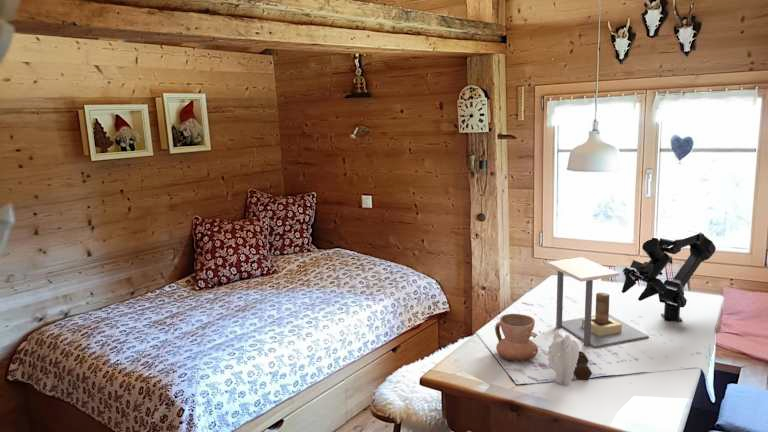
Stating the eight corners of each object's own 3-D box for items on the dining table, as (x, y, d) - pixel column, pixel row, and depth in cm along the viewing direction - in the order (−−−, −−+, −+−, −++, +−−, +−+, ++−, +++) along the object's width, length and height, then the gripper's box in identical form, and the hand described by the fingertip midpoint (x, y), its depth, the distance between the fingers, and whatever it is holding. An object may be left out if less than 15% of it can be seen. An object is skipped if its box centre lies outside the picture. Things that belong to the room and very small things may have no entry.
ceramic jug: (549, 358, 205) (549, 320, 202) (522, 370, 196) (522, 331, 194) (509, 343, 219) (509, 307, 216) (483, 354, 210) (482, 317, 208)
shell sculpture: (553, 373, 194) (555, 323, 190) (578, 380, 189) (580, 328, 185) (545, 384, 187) (546, 332, 183) (571, 391, 182) (572, 338, 179)
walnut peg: (597, 325, 229) (599, 291, 226) (609, 328, 226) (611, 294, 223) (593, 329, 226) (594, 295, 223) (605, 332, 222) (606, 297, 220)
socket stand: (607, 315, 240) (610, 252, 235) (648, 337, 218) (653, 268, 212) (543, 326, 232) (545, 261, 226) (580, 350, 210) (582, 279, 204)
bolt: (581, 365, 203) (584, 384, 189) (569, 357, 204) (570, 376, 190) (591, 352, 201) (594, 370, 187) (578, 344, 202) (580, 362, 188)
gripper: (627, 247, 230) (603, 277, 229) (662, 259, 213) (635, 291, 212) (643, 263, 234) (618, 293, 233) (678, 277, 216) (652, 309, 216)
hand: (630, 296), depth 223 cm, fingers open, 9 cm apart
